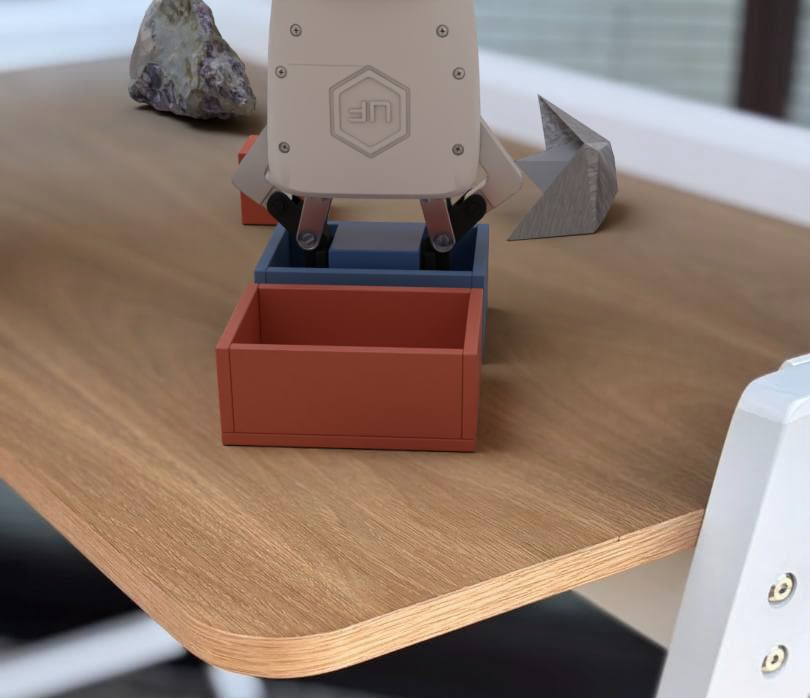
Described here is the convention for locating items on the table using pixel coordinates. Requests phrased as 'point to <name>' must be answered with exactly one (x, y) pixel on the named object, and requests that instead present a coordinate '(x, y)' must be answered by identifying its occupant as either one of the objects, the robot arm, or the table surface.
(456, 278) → the blue bin
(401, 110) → the robot arm
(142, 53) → the mineral rock
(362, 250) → the blue block
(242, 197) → the terracotta block
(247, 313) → the terracotta bin
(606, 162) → the grey faceted pointed figurine
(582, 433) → the table surface
